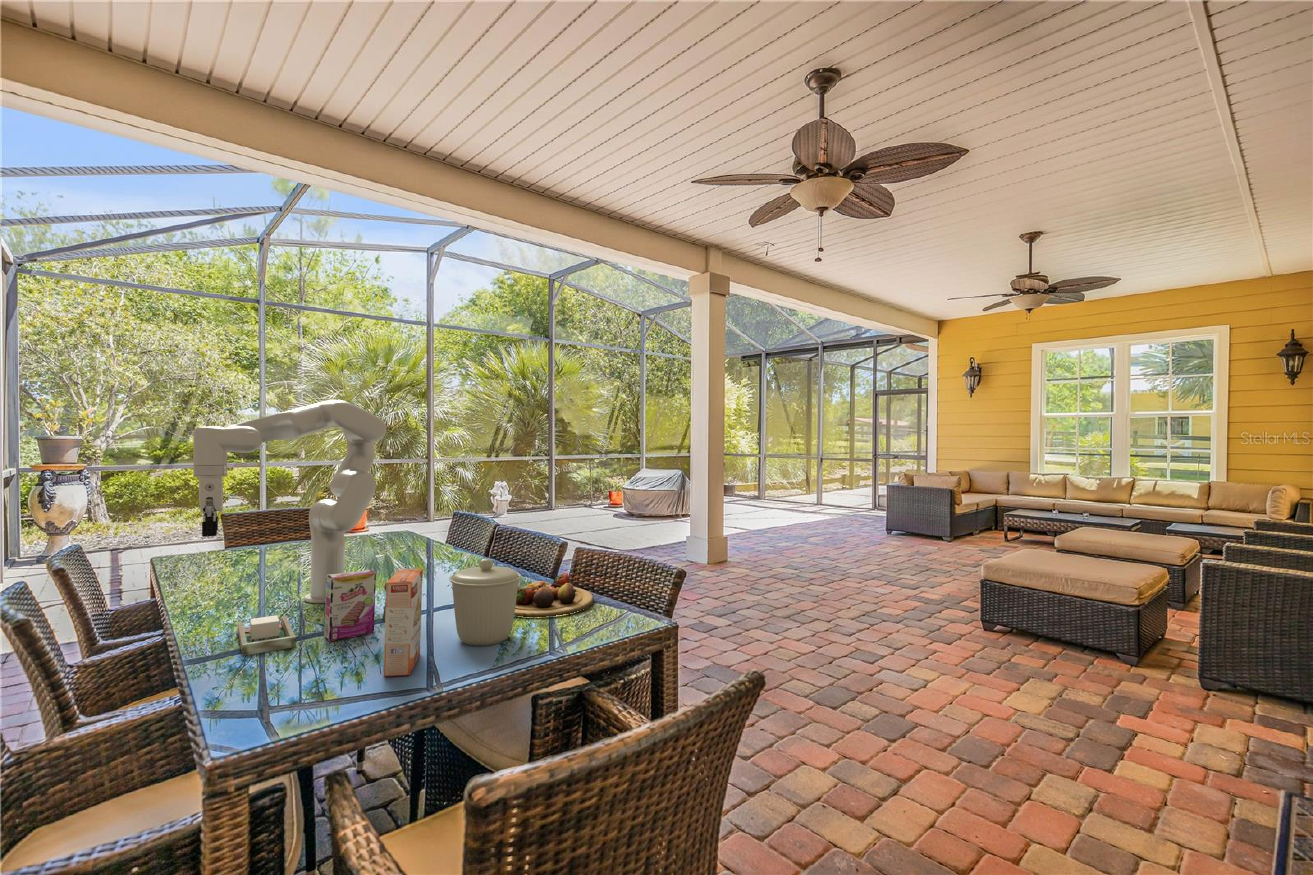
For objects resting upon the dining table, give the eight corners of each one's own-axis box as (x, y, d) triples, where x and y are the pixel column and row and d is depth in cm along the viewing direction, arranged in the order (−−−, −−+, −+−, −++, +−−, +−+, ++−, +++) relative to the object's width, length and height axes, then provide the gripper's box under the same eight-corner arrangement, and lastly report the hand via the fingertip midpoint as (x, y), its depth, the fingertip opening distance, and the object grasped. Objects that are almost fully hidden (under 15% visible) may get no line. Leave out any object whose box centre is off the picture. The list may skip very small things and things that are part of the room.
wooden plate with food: (544, 587, 216) (544, 563, 216) (613, 601, 198) (613, 576, 198) (469, 608, 190) (468, 582, 190) (540, 628, 172) (540, 598, 172)
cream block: (277, 630, 164) (277, 615, 164) (278, 636, 159) (279, 621, 159) (250, 634, 160) (250, 618, 160) (251, 640, 156) (251, 624, 156)
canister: (496, 655, 148) (498, 568, 148) (433, 646, 153) (434, 562, 153) (532, 632, 165) (534, 555, 165) (474, 625, 171) (476, 550, 171)
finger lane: (285, 623, 170) (285, 614, 170) (295, 646, 151) (296, 636, 151) (237, 629, 163) (237, 620, 163) (242, 655, 145) (242, 645, 144)
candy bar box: (329, 642, 154) (331, 578, 154) (323, 638, 158) (324, 574, 158) (375, 633, 162) (376, 571, 162) (368, 629, 166) (369, 568, 166)
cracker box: (411, 676, 134) (413, 581, 134) (382, 678, 133) (384, 582, 133) (422, 654, 148) (423, 567, 148) (395, 655, 147) (397, 568, 147)
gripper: (226, 473, 163) (226, 537, 163) (227, 469, 177) (227, 528, 177) (191, 473, 159) (190, 539, 159) (195, 469, 173) (194, 530, 173)
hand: (210, 533), depth 168 cm, fingers open, 9 cm apart
